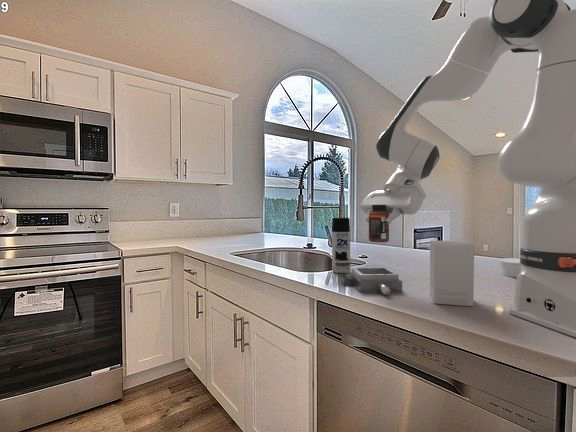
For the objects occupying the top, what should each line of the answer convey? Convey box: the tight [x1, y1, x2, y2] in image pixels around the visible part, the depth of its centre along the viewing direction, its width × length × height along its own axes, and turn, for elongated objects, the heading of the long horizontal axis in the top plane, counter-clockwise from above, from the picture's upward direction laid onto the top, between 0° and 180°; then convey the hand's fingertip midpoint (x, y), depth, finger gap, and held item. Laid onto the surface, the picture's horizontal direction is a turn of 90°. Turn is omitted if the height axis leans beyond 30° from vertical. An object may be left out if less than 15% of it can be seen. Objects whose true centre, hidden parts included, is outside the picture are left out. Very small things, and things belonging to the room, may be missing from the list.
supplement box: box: [429, 240, 475, 308], centre depth 82 cm, size 9×9×15 cm
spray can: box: [331, 217, 352, 274], centre depth 118 cm, size 7×7×20 cm
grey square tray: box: [340, 266, 403, 296], centre depth 95 cm, size 19×15×4 cm
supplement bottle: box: [368, 205, 390, 243], centre depth 98 cm, size 6×6×11 cm
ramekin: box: [498, 257, 522, 279], centre depth 109 cm, size 11×11×5 cm
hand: (377, 221), depth 97 cm, fingers closed on supplement bottle, 6 cm apart
